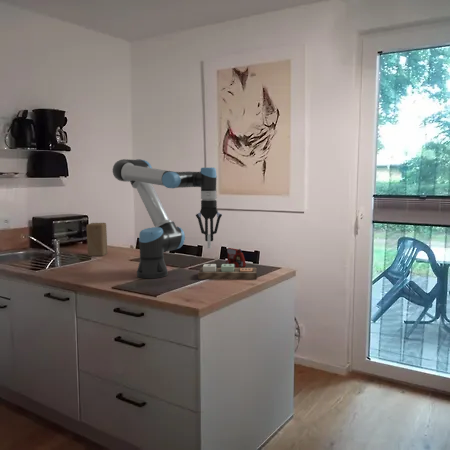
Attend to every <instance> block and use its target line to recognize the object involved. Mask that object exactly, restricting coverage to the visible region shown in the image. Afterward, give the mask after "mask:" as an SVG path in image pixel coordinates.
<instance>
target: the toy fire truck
mask: <svg viewBox="0 0 450 450" xmlns="http://www.w3.org/2000/svg"><path fill="white" fill-rule="evenodd" d="M226 252H227V260H226V261H225V263H224V264H234V268H246V266H247V264H246V263H247V262H246V259H245V255H244V253H243V252H242V249H241V248H239V249H237V248H234V247H233V248H232V247H228V248H227V249H226Z"/></svg>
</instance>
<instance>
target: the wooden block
mask: <svg viewBox="0 0 450 450" xmlns="http://www.w3.org/2000/svg"><path fill="white" fill-rule="evenodd" d="M107 233H108V232H107V223H106V222H91V223H88V224H86V242H87V243H86V245H87V256H88V257H104V256H105V255H107V254H108V236H107V235H108V234H107Z"/></svg>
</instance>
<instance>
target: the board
mask: <svg viewBox="0 0 450 450" xmlns="http://www.w3.org/2000/svg"><path fill="white" fill-rule="evenodd" d="M240 268H241V267H239V268H234V272H221V267H216V272H203V267H200V269H199V271H198V272H197V279H198V280H257V279H258V277H257V270H258V269H257V267H252V268H253V272H240Z"/></svg>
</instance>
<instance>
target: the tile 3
mask: <svg viewBox="0 0 450 450" xmlns="http://www.w3.org/2000/svg"><path fill="white" fill-rule="evenodd" d="M239 268H240V272H253V268H254V267H244V268H241V267H239Z"/></svg>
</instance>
